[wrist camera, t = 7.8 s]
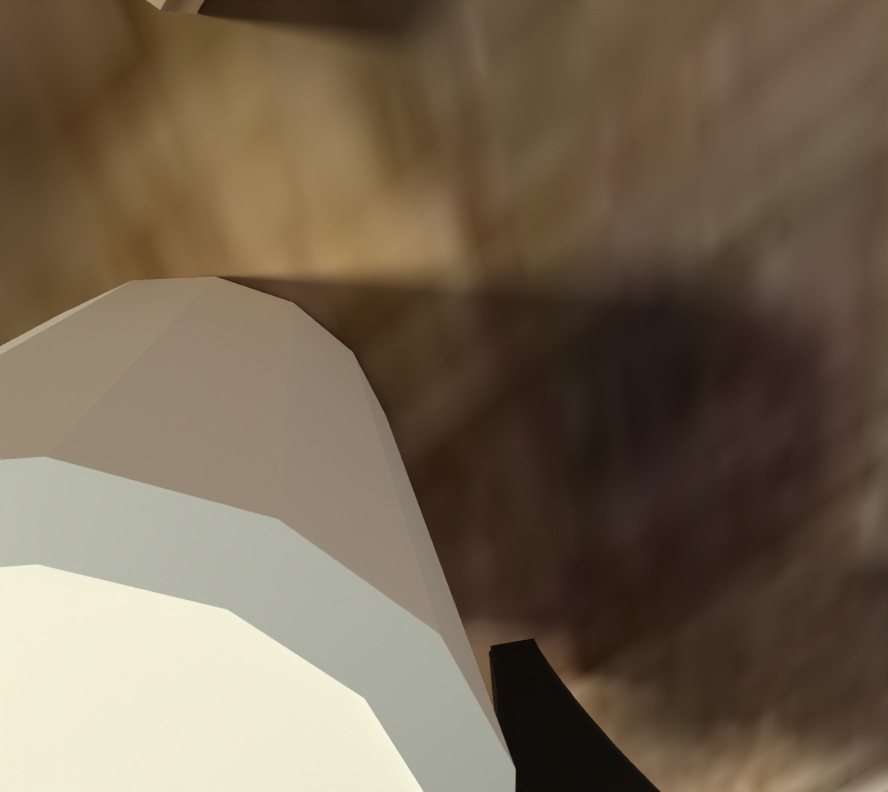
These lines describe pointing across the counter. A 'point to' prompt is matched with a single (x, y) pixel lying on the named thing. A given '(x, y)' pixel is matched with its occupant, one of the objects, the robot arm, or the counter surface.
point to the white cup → (220, 563)
